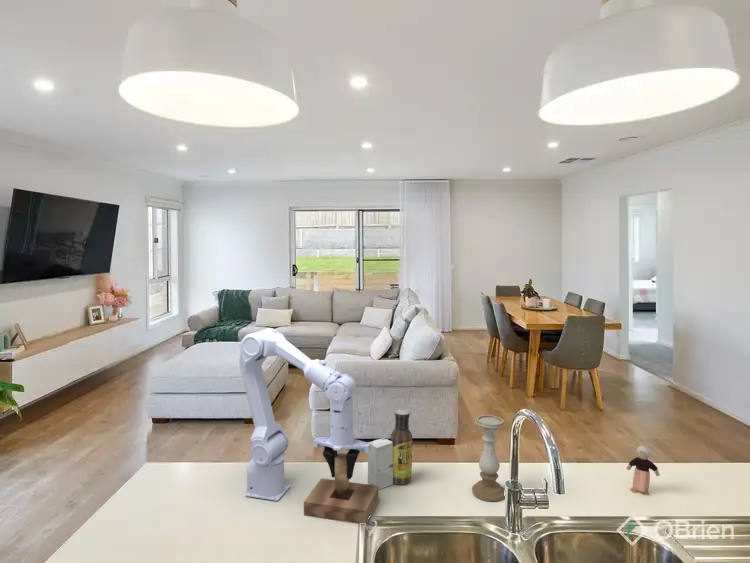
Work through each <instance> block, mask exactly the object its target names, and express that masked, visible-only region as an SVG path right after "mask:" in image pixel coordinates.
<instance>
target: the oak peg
mask: <svg viewBox="0 0 750 563" xmlns="http://www.w3.org/2000/svg"><path fill="white" fill-rule="evenodd" d="M346 454H347V453H345V452H343V453H337V454H336V455H335V456H334V465H335V477H334V480H335V489H336V490H339V491H343V490H347V489H348V488H349V482H350V479H348V478H347V469H348V468H347V459H346Z"/></svg>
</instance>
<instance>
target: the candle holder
mask: <svg viewBox="0 0 750 563" xmlns="http://www.w3.org/2000/svg"><path fill="white" fill-rule="evenodd" d="M474 421H475V424H476V425H477V426H478V427H480V428H481V429H482V430H483V432H484V435H483V436H482V438H481V439H482V440H483V442H484V444H483V452H482V454H481V455H480V458H479V461H478V467H479V469H480V470H481V471H480V472H479V477H481V479H480V480H478V481H477V482H476V483H475V484H473V485H472V488H471V490H472V491H471V492H472V494H473V496H474V497H476V498H478V499H479V500H481V501H485V502H499V501H502V500H504V499H505V497H504V489H505V488H504V487H503V486H502V484H500V483H499V482H498V481H497V479H498V478H499V474H498V471H499V470H500V461H499V458H498V456H497V453H496V442H497V441H498V438H497V437H496V432H497V431H498V430H499V429H501V428H504V426H505V425H506V424H505V423H506V422H505V420H504V419H503V418H502V417H499V416H497V415H493V414H492V415H491V414H483V415H478V416H476V418H475V420H474Z"/></svg>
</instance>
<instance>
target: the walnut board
mask: <svg viewBox="0 0 750 563" xmlns="http://www.w3.org/2000/svg"><path fill="white" fill-rule="evenodd" d="M379 490H380V489H379V486H375V485H368V483H361V482H359V483H358V482H353V481H352V482H351V481H349V488H348V489H347V490H343V491H339V490H336V489H335V479H328V478H320V479H319V481H318V482H317V484H316V485H314V488H313V489H312V490H311V492H310V493H309V494H308V495H307V497H305V498H306V499H304V500H303V515H304V516H307V517H311V518H312V517H314V518H319V519H325V520H333V521H338V522H339V521H340V522H343V523H344V522H346V523H351V524H358V525H360V524H359V523H367V524H368V522H367V520H368V518H369V516H370V515H372V514H373V511H374V509H375V507H376V505H377V504H378V501H379V496H380V495H379V494H380V493H379ZM370 517H371V516H370ZM369 519H370V518H369ZM368 521H369V520H368Z"/></svg>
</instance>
